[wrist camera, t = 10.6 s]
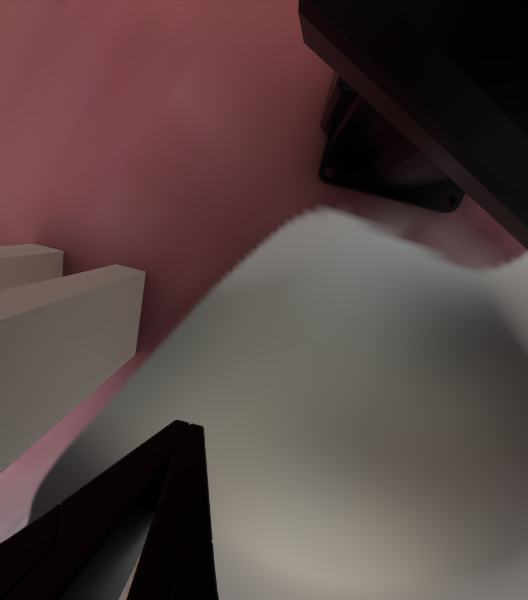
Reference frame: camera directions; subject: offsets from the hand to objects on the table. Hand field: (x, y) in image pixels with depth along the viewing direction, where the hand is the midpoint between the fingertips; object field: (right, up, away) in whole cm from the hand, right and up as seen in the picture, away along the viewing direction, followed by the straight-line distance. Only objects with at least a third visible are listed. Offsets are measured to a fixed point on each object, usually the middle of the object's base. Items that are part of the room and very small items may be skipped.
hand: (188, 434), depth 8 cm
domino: (-5, +3, +7) cm, 10 cm away
